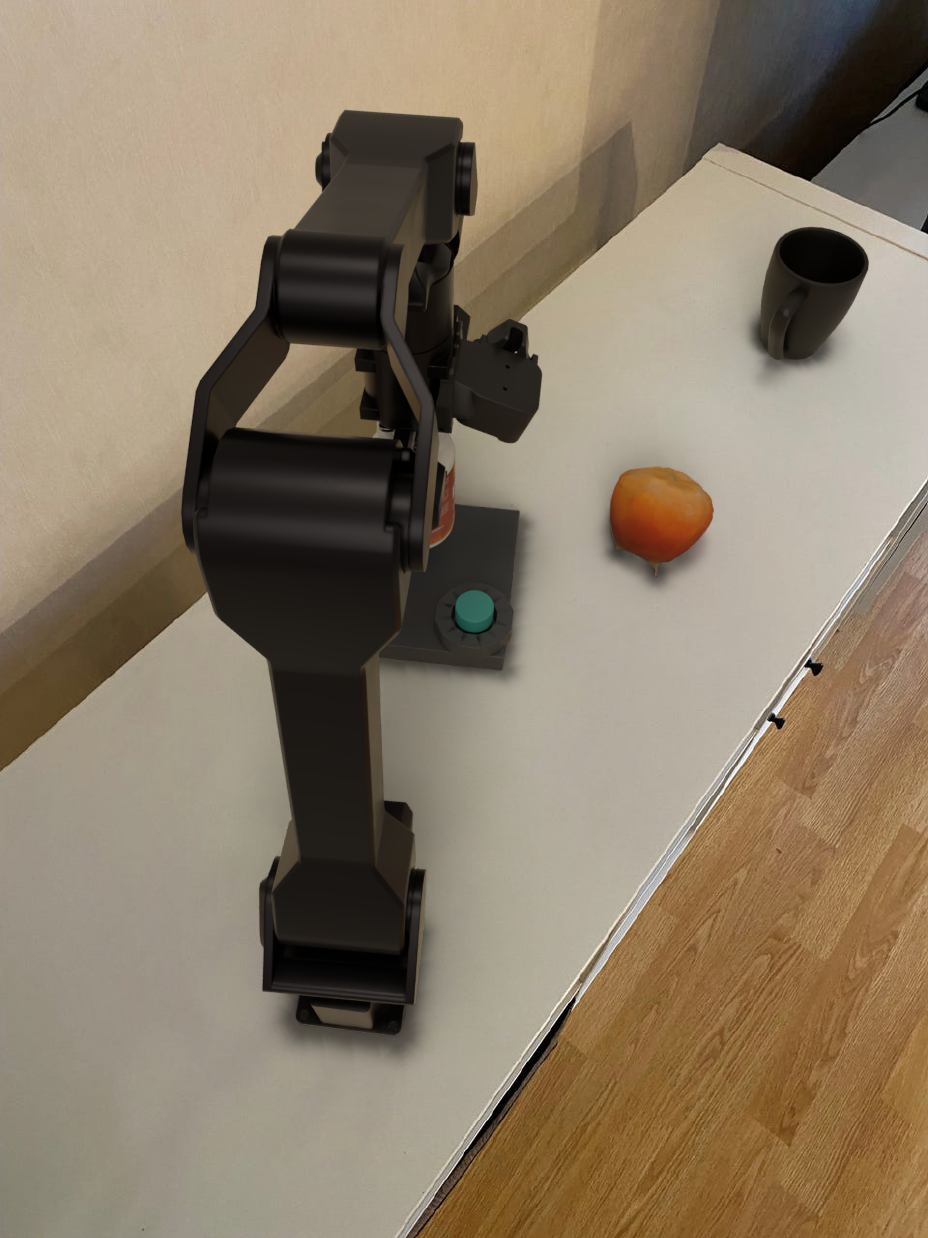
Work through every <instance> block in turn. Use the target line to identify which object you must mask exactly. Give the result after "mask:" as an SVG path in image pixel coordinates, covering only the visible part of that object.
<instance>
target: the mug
mask: <svg viewBox="0 0 928 1238" xmlns="http://www.w3.org/2000/svg"><path fill="white" fill-rule="evenodd" d="M869 265H870V260H869V256H868V253H867V252H866V251H865V249H864V248H863V246H862V245H861V244H860V243H859V242H858V241H856V240H855V239H853V238H852V237H850V236H849V235H847V234H845V233H843V232H840V231H837V230H834V229H831V228H827V227H821V226H805V227H799V228H798V227H797V228H795V229H792V230H790V231H788V232H786V233H784V234H783V235H782V236H781V237H779V238H778V240H777V242H776V243H775V245H774V247H773V250H772V254H771V257H770V259H769V263H768V265H767V269H766V271H765V276H764V281H763V286H762V292H761V300H760V340H761V343H762V345H763V346H764V347H765V349H766V350H767V351H768V354H769V355H770V357H771V358H773V359H774V360H779V361H780V360H783V359H786V360H795V361H797V360H803V359H807V358H809V357H811V356H813V355H814V354H815V353H816V352H817V351H818V349H819V348H820V347H821V346H822V345H823V344H824V343H825V342H826V341H827V339H828V338H829V337H830V336H831V335H832V334H833V333H834V331H836V329H838V326H839V325H840V324H841V323H842V321H843V320H844V319H845V317H846V315H848V312H849V311H850V309H851V307H852V306H853V304H854V302H855V300H856V298H857V296H858V293H859V292H860V290H861V288H862V285H863V283H864V280H865V278H866V276H867V274H868V271H869V267H870V266H869Z"/></svg>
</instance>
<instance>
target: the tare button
mask: <svg viewBox="0 0 928 1238" xmlns="http://www.w3.org/2000/svg"><path fill="white" fill-rule="evenodd" d="M493 612H494V604H493V601H492V599H491V598H490V596H488V595H487V594H486V593H484V592H482V591H478V590H471V591H467V592H465V593H463V594H462V595H460V596H459V598H458V599H457V601H456V605H455V619H456V622H457V624H458V625H459V627H460V628H462V629H463V630H465V631H467V632H471V633H478V632H482V631H484V630H486V629H487V628H488V627H489V626H490V625H491V623H492V621H493Z"/></svg>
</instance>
